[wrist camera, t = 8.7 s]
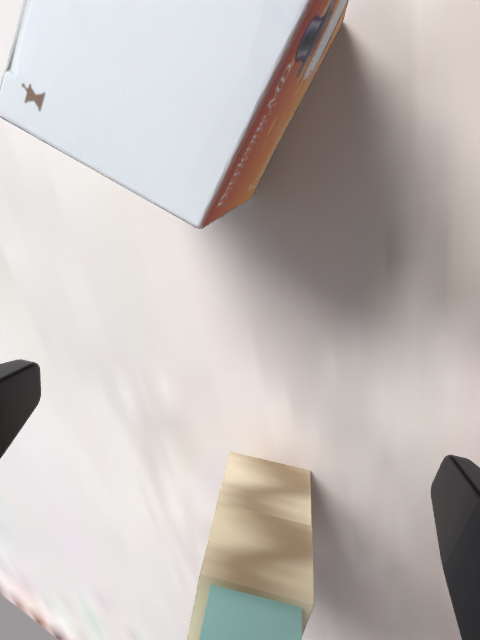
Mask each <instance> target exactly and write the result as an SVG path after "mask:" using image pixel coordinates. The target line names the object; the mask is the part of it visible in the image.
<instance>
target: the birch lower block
mask: <svg viewBox="0 0 480 640" xmlns="http://www.w3.org/2000/svg"><path fill="white" fill-rule="evenodd" d="M218 502H219V503H223V504H227V505H231V506H235V507H239V508H243V509H247V510H251V511H255V512H259V513H263V514H267V515H271V516H275V517H279V518H283V519H287V520H291V521H295V522H299V523H303V524H307V525H311V526H312V523H311V475H310V471H309V470H305V469H301V468H297V467H293V466H288V465H284V464H280V463H276V462H271V461H267V460H263V459H259V458H254V457H250V456H246V455H242V454H238V453H233V452H230V453H229V457H228V461H227V465H226V469H225V473H224V477H223V481H222V485H221V489H220V493H219V497H218V501H217V504H218ZM216 508H217V506H216ZM215 512H216V511H215Z"/></svg>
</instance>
